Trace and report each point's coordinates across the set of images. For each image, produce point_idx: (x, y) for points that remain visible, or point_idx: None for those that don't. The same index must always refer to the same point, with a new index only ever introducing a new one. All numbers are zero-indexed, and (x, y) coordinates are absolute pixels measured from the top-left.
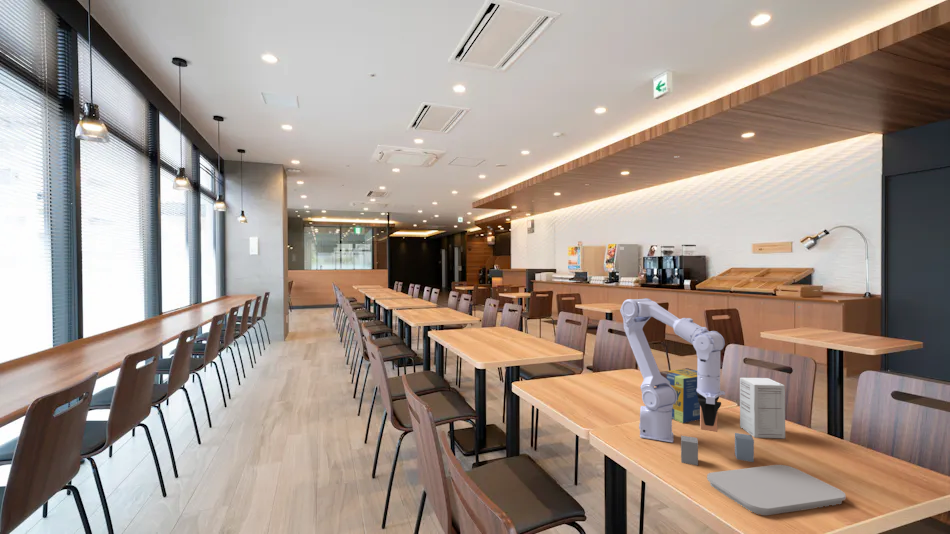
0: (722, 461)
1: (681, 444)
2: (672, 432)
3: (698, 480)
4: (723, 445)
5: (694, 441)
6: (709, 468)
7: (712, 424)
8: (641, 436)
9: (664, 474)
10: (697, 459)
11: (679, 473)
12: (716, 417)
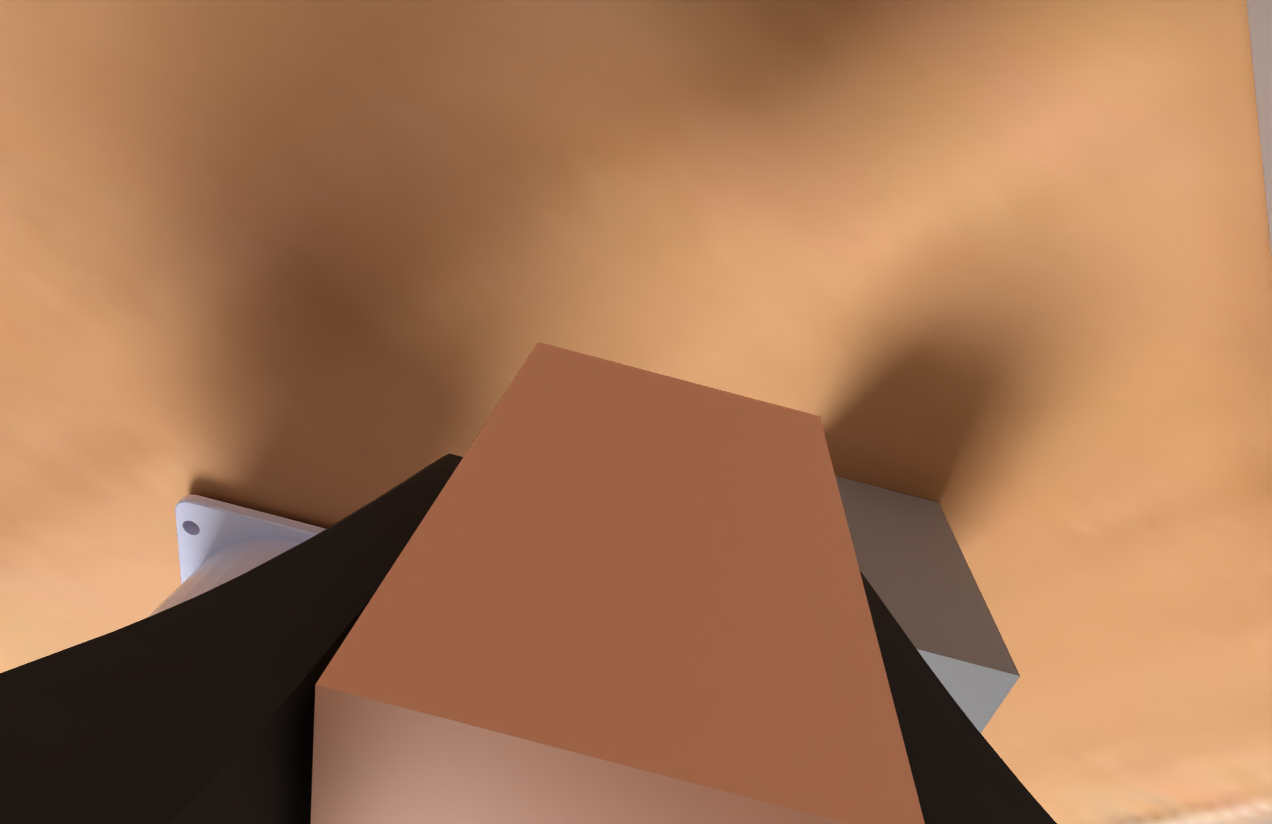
0: (810, 216)
1: None
2: (183, 506)
3: (1257, 596)
4: (279, 6)
5: (952, 690)
6: (1004, 421)
7: None
8: None
9: (1114, 779)
10: (953, 542)
11: (1103, 686)
12: (860, 635)
